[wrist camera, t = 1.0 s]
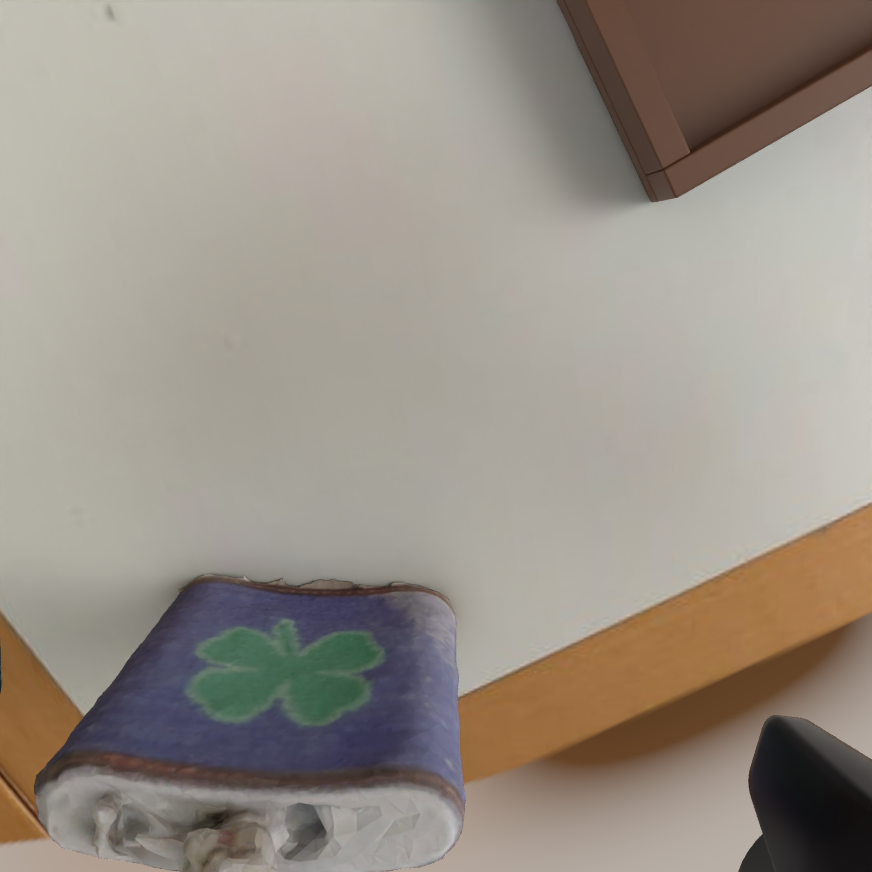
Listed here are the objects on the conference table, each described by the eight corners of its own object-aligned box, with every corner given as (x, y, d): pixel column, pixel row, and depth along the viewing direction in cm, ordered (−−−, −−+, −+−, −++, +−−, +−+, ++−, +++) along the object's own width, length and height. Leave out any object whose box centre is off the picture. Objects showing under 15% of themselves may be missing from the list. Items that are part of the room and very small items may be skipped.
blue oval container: (457, 583, 23) (474, 862, 13) (451, 661, 24) (463, 984, 13) (174, 567, 23) (-42, 836, 12) (177, 647, 24) (-24, 962, 13)
